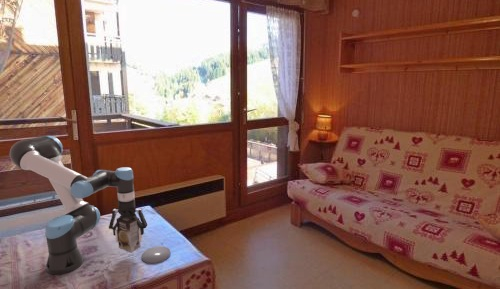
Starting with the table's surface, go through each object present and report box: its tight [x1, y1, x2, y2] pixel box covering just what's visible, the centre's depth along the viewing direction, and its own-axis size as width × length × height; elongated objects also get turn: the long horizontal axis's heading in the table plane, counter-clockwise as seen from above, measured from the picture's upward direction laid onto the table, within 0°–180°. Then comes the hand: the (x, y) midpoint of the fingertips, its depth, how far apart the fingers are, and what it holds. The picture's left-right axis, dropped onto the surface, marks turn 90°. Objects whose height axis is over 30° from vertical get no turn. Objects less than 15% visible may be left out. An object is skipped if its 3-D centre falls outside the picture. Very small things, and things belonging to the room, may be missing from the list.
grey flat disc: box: [141, 245, 171, 265], centre depth 151 cm, size 14×14×1 cm
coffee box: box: [116, 217, 141, 254], centre depth 147 cm, size 9×6×16 cm
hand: (129, 240), depth 147 cm, fingers closed on coffee box, 10 cm apart
